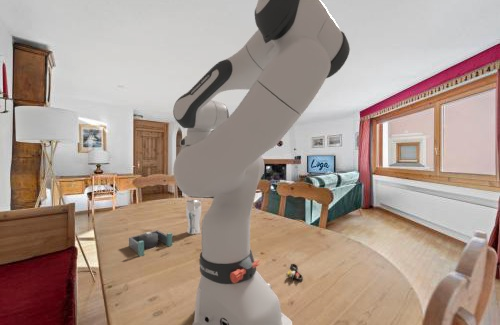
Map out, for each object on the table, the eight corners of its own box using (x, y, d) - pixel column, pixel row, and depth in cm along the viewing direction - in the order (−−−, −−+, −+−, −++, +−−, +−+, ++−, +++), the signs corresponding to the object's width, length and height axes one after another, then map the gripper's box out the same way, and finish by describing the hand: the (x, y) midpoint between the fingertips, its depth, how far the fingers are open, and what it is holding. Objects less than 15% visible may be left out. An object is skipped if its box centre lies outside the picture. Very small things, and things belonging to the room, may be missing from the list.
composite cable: (290, 265, 71) (290, 258, 71) (305, 268, 69) (305, 260, 69) (285, 282, 61) (285, 274, 61) (302, 285, 60) (302, 277, 60)
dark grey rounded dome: (161, 245, 86) (160, 232, 86) (142, 250, 81) (142, 237, 81) (153, 240, 91) (153, 228, 91) (136, 245, 86) (136, 233, 86)
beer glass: (186, 235, 96) (185, 202, 96) (186, 230, 103) (186, 199, 103) (201, 234, 98) (201, 202, 98) (201, 229, 105) (200, 199, 104)
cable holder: (172, 245, 86) (172, 233, 86) (139, 256, 77) (139, 242, 76) (158, 237, 94) (158, 226, 94) (127, 246, 85) (127, 234, 85)
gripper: (224, 139, 75) (224, 178, 75) (191, 142, 88) (191, 175, 89) (210, 138, 70) (210, 179, 71) (177, 141, 84) (178, 176, 84)
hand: (199, 177), depth 80 cm, fingers closed
